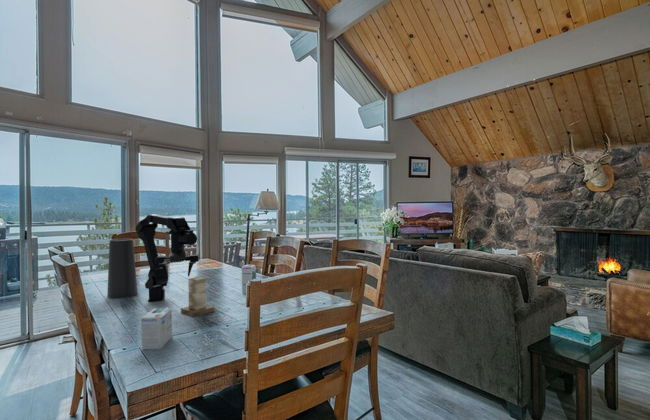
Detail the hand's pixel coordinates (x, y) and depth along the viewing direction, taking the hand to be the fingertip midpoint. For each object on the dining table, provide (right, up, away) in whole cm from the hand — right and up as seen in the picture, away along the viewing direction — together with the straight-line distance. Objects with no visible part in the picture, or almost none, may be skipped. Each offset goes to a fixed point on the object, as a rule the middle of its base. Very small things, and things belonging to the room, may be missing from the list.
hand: (178, 277), depth 170 cm
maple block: (+13, -11, -11) cm, 20 cm away
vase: (-36, -13, +18) cm, 43 cm away
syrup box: (+29, -13, +22) cm, 38 cm away
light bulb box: (+11, -15, -45) cm, 49 cm away
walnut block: (+13, -14, -11) cm, 22 cm away
